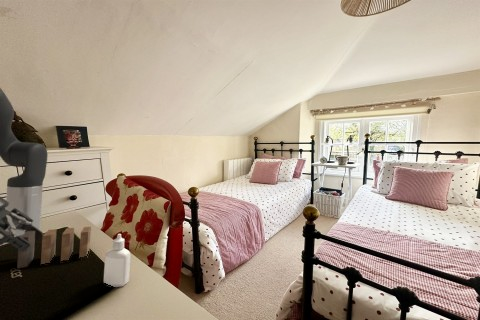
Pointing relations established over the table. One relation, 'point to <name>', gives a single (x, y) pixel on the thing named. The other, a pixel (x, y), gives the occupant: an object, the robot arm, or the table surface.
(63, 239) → the domino
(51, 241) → the domino
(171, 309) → the table surface
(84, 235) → the domino
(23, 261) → the loose domino
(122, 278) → the eye dropper bottle
